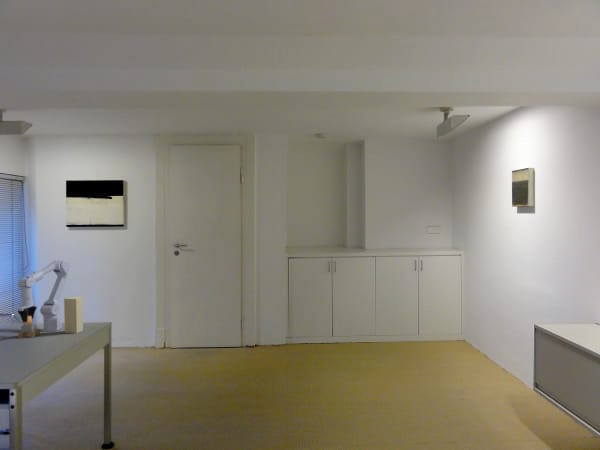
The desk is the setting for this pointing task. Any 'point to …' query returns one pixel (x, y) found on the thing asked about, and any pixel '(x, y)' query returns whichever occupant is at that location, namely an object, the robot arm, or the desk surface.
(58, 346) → the desk surface
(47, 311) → the robot arm
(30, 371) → the desk surface
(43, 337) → the desk surface
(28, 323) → the orange capsule
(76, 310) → the tan wooden block
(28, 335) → the brown square box
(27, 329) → the slate block
